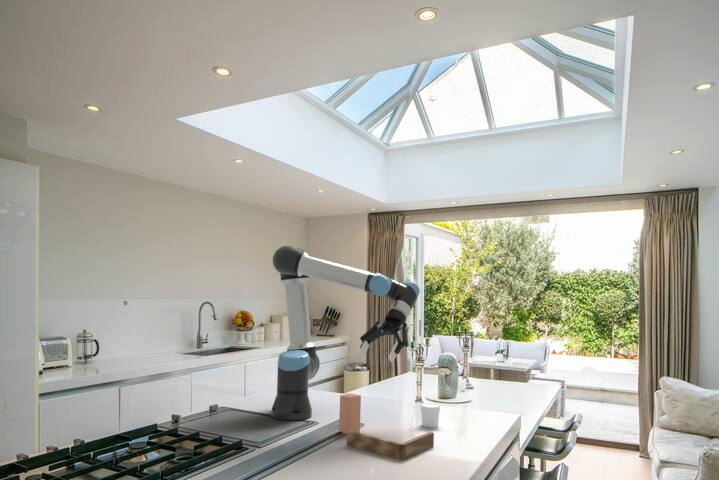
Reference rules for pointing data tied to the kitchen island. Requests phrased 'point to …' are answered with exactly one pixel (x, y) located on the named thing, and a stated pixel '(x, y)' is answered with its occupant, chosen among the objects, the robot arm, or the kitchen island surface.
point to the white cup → (430, 415)
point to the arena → (391, 444)
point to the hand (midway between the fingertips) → (374, 358)
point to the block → (349, 413)
